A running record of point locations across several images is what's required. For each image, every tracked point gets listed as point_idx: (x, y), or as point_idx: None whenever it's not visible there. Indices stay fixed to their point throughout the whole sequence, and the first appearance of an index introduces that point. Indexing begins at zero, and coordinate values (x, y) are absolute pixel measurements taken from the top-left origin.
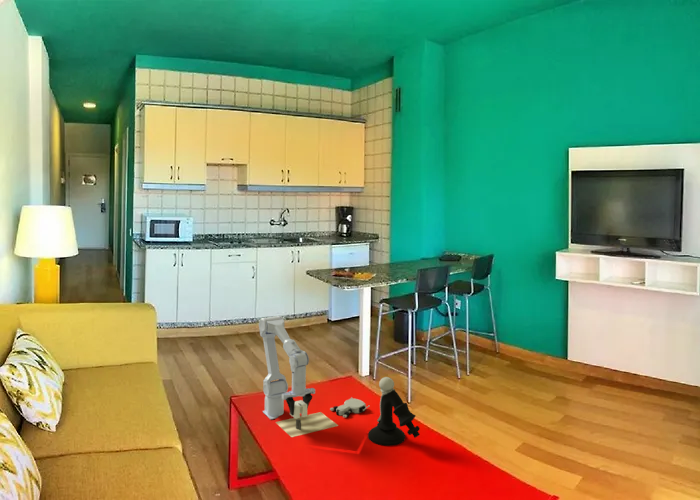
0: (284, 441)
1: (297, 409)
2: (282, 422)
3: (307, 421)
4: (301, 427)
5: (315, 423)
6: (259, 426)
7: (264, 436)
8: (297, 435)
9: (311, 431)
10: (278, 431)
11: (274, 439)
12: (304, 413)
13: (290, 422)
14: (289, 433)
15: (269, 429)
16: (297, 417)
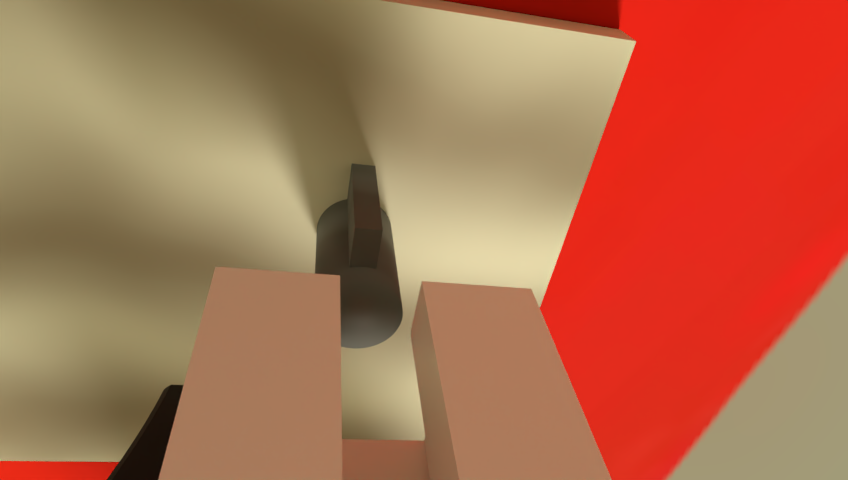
0: (726, 43)
1: (541, 473)
2: (424, 433)
3: (116, 328)
4: (298, 225)
5: (13, 220)
6: (618, 467)
7: (759, 293)
8: (523, 29)
9: (222, 7)
10: (564, 312)
11: (756, 174)
12: (291, 331)
13: (344, 398)
14: (565, 163)
15: (599, 388)
16: (487, 298)
